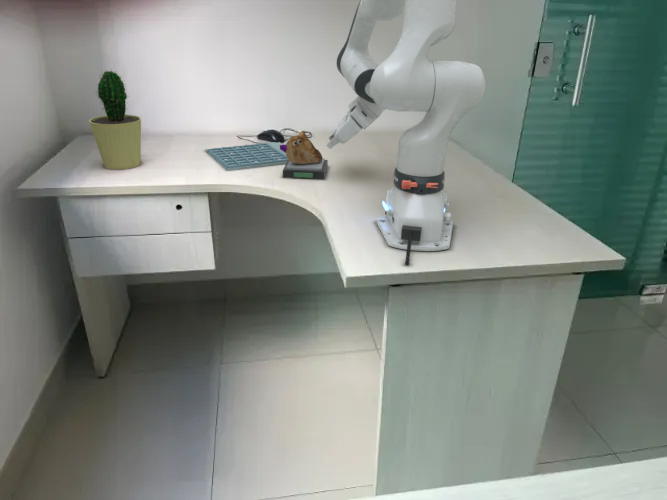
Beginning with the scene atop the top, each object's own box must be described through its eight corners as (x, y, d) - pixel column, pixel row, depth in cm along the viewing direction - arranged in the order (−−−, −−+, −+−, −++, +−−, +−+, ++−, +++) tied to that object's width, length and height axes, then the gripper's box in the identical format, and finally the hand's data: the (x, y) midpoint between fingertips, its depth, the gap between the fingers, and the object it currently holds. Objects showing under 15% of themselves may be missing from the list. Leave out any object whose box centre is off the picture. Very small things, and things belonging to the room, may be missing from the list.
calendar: (205, 150, 191) (204, 144, 190) (278, 143, 203) (278, 136, 202) (227, 171, 169) (226, 163, 168) (307, 161, 181) (307, 154, 180)
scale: (324, 179, 163) (324, 169, 161) (282, 178, 163) (282, 168, 162) (327, 166, 176) (327, 157, 174) (289, 165, 176) (289, 155, 175)
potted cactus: (94, 161, 175) (78, 66, 163) (142, 156, 182) (130, 65, 169) (99, 173, 163) (81, 72, 150) (150, 168, 170) (137, 71, 157)
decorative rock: (289, 168, 162) (289, 133, 157) (282, 163, 167) (281, 129, 162) (324, 164, 167) (325, 130, 162) (316, 159, 172) (316, 126, 167)
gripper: (355, 99, 169) (325, 128, 173) (353, 111, 150) (319, 143, 155) (368, 113, 170) (338, 142, 175) (368, 127, 152) (334, 158, 157)
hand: (329, 143), depth 165 cm, fingers open, 8 cm apart
